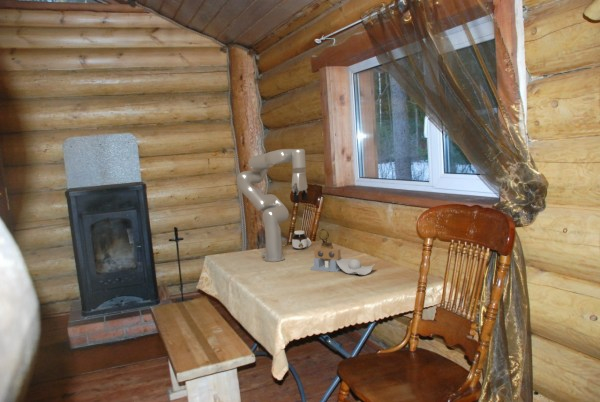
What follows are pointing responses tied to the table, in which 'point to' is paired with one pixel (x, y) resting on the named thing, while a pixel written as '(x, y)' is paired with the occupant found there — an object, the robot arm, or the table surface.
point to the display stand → (326, 265)
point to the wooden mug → (325, 240)
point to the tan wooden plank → (327, 253)
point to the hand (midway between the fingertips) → (300, 201)
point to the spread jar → (300, 240)
